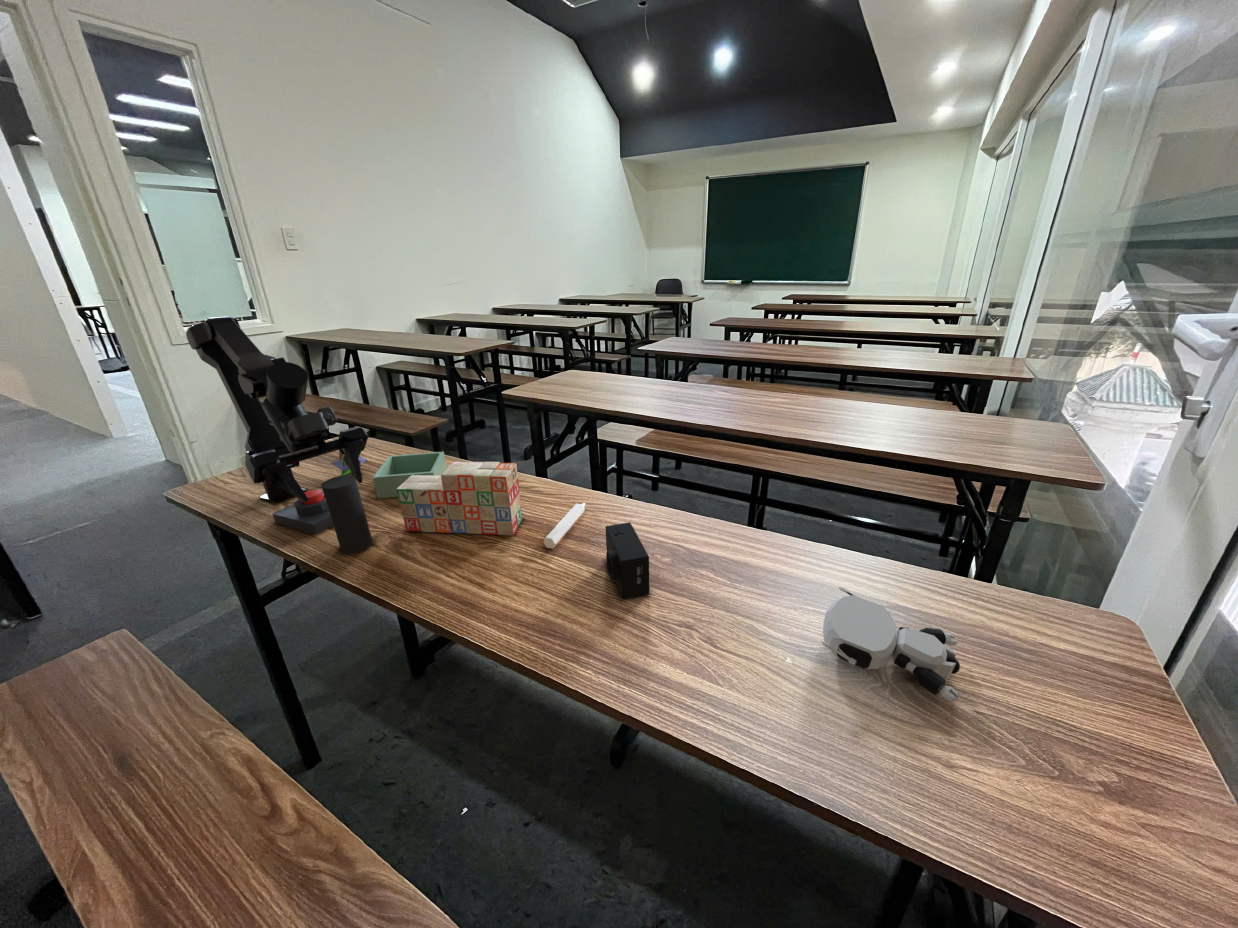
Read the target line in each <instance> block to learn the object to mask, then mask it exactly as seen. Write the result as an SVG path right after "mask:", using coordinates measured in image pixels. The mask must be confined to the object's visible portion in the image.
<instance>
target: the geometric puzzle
mask: <svg viewBox="0 0 1238 928" xmlns="http://www.w3.org/2000/svg"><path fill="white" fill-rule="evenodd" d="M362 455H363V457H362V456H361V455H359V464H360V468H362V465H363V464H367V462H368V461H369V460H368V459H367V458H365V456H364V454H362ZM336 456H337V458H334V459H333V461H331V462H330V465H332V466H333V467H334V468H335V467H337V468H338V469H339V470H340V471H341V472H340V473H341V474H340V473H339V474H340V476H347V475H348V474H352V473H351V471H350V469H349V468H348V466H347V464H346V463H345V461H344V459H343V458H344V454H341V452H340V450H337V453H336ZM337 459H338V460H337ZM365 466H366V465H364V466H363V468H365ZM335 469H336V468H335Z"/></svg>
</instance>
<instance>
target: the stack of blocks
mask: <svg viewBox="0 0 1238 928" xmlns="http://www.w3.org/2000/svg"><path fill="white" fill-rule="evenodd" d="M396 491H397V495H398V497H397V500H398V503H399V505H400V506H399V507H400V510H401V515H402V518H403V522H404V523H403V524H404V528H405V531H406V532H422V533H445V534H451V533H453V534H474V535H475V534H476V535H491V536H492V535H496V536H498V535H499V536H514V535H515V534H516V532H517V530H518V528H519V526H520V524H521V522H523V511H522V503H521V494H520V483H519V477H518V467H517V462H516V463H515V462H514V463H513V462H500V461H453V462H451V464H449V466H448V467H447V469H446V471H444V472H443V473H442V474H441V476H430V475H427V476H425V475H412V476H410V477H409V478H408V479H407V480H406V481H404V483H403V484H401V485H400V486H399V487H398V488H397V489H396Z"/></svg>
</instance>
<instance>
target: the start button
mask: <svg viewBox="0 0 1238 928" xmlns="http://www.w3.org/2000/svg"><path fill="white" fill-rule="evenodd" d="M322 492H323V490H321V489H310V490H308V491H307V490H306V491H305V494H306V496H307V498H308V502H306V503H305V502H304V501H303V504H305V505H308V504H314V503H318V502H320V501H322V500H324V497H323V494H322Z"/></svg>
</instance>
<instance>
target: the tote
mask: <svg viewBox="0 0 1238 928" xmlns="http://www.w3.org/2000/svg"><path fill="white" fill-rule="evenodd" d="M447 468H448V467H447V462H446V456H445V451H433V452H421V453H406V454H396V455H395V454H394V455H388V456H387V458H386V460H385V461H384V462H383V463H382V464H381V466H380V467H379V469H378V470H377V471H376V472H375V474H374V475H373V477H372V481H373V484H374V485H373V486H374V489H375V492H376V497H377V499H387V498H389V499H390V498H398V495H397V491H396V489H397V488H398V487H399V486H400V485H401V484H403V483H404V481H406V480H407V479H408V478H409V477H410V476H412V475H425V476H427V475H430V476H441V474H442V473H443V472H444V471H446V469H447Z"/></svg>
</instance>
